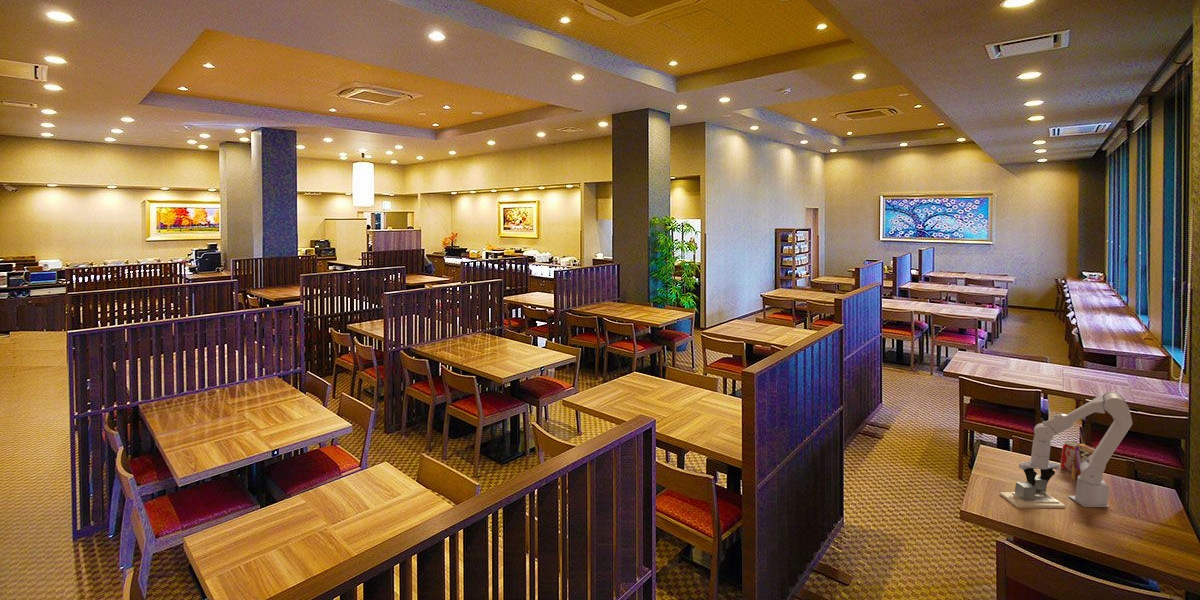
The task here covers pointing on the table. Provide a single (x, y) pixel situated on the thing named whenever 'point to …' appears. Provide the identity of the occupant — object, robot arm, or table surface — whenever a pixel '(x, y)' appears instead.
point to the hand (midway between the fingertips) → (1036, 485)
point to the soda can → (1068, 455)
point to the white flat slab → (1039, 498)
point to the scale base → (1021, 504)
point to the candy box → (1080, 458)
